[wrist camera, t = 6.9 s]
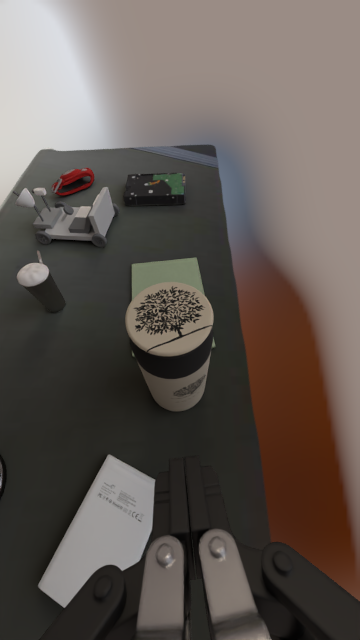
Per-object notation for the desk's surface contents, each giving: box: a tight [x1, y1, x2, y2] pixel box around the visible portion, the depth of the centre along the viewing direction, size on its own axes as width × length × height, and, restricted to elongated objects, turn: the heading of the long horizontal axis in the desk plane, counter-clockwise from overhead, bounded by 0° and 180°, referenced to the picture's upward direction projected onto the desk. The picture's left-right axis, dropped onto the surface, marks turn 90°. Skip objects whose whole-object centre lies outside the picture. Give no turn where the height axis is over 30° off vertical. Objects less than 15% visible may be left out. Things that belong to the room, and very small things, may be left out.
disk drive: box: [124, 173, 185, 206], centre depth 62 cm, size 10×3×15 cm
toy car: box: [13, 187, 119, 247], centre depth 52 cm, size 18×10×12 cm
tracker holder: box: [52, 168, 94, 195], centre depth 64 cm, size 12×4×10 cm
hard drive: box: [38, 455, 156, 608], centre depth 26 cm, size 2×8×12 cm
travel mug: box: [125, 282, 213, 411], centre depth 28 cm, size 8×8×18 cm
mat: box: [132, 258, 215, 357], centre depth 44 cm, size 20×13×1 cm, turn 6°
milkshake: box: [17, 251, 66, 312], centre depth 40 cm, size 4×5×10 cm
